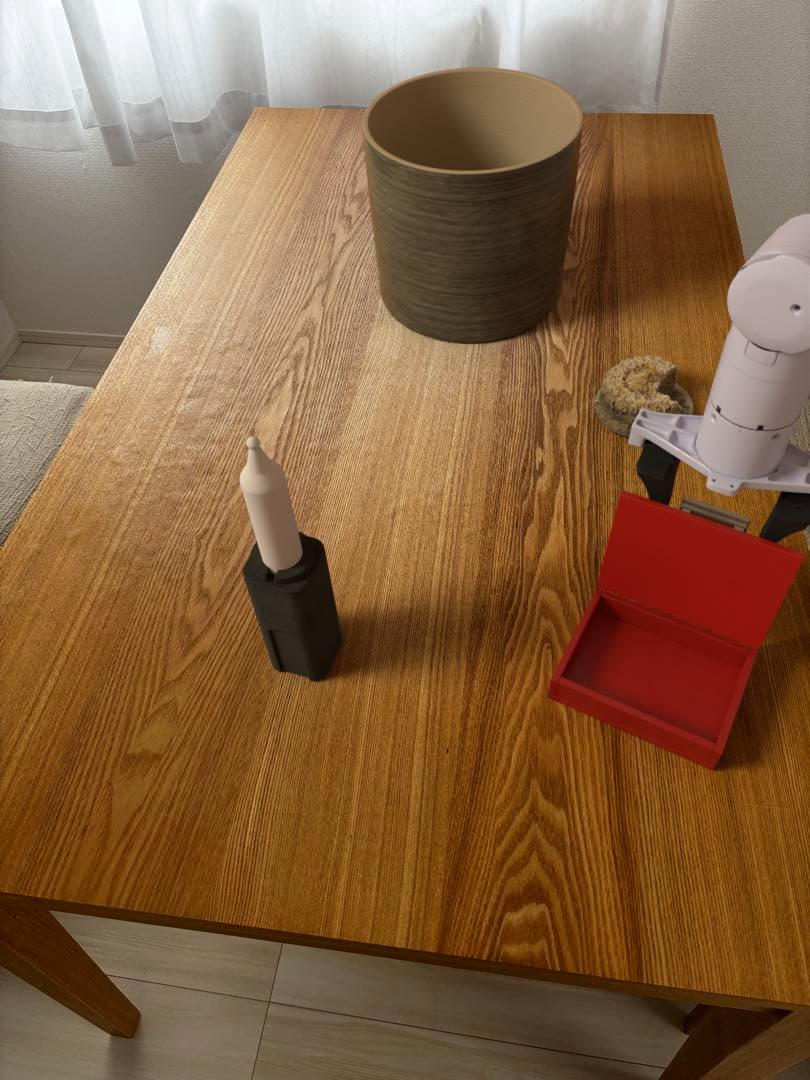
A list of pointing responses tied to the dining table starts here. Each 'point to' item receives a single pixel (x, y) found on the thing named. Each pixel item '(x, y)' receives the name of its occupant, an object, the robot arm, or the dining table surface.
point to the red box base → (654, 677)
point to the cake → (639, 392)
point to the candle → (287, 575)
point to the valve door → (698, 566)
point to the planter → (472, 199)
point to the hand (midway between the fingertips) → (708, 532)
